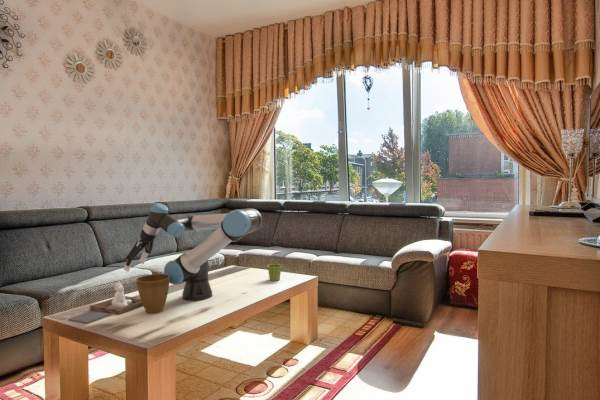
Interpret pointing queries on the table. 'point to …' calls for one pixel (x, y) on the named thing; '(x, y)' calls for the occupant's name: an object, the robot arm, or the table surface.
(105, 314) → the slate mat
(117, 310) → the pocket frame
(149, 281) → the plant pot
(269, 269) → the plant pot
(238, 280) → the table surface
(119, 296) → the white creature statuette
